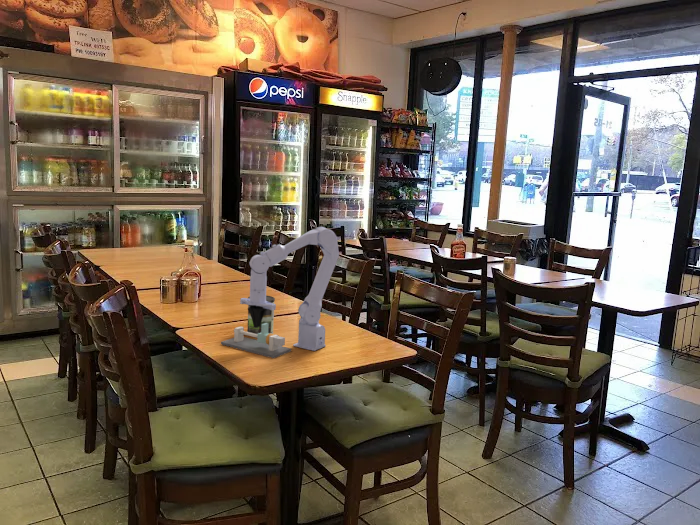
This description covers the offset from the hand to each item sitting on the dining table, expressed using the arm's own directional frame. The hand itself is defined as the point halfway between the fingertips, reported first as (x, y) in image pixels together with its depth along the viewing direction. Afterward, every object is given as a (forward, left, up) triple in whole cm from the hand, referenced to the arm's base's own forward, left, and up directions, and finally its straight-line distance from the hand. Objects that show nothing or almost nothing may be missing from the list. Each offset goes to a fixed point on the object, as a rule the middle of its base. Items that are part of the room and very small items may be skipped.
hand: (256, 326), depth 199 cm
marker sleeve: (-4, 0, -5) cm, 6 cm away
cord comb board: (0, 0, -8) cm, 8 cm away
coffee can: (+11, -16, -8) cm, 21 cm away
